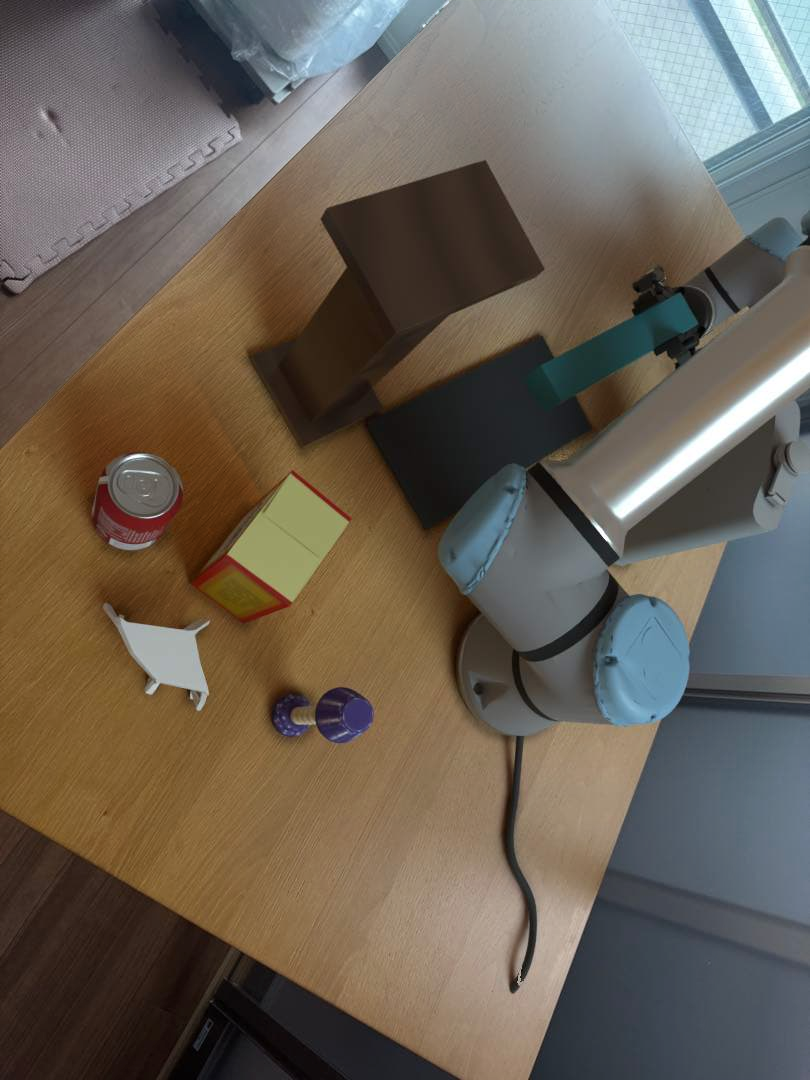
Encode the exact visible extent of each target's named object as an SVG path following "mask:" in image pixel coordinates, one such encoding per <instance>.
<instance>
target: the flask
mask: <svg viewBox="0 0 810 1080" xmlns="http://www.w3.org/2000/svg"><path fill="white" fill-rule="evenodd" d="M800 429H801V408H800V407H799V405H798V402H797V401H796V399H795V400H794V401H792V402H791V403H790V404H789V405H787V406H786V407H785V408H783V409H782V410H781V411H780V412H778V413H777V414H776V415H775V416H773V417H772V418H771V419H769V420H768V421H767V422H766V423H764V424H763V425H762V426H761V427H759V428H758V429H757V430H755V431H754V432H753V433H752V434H750V435H749V436H748V437H747V438H745V439H744V440H743V441H741V442H740V443H739V444H738V445H736V446H735V447H734V448H733V449H731V450H730V451H729V452H727V453H726V454H725V455H724V456H722V457H721V458H720V459H719V460H717V461H716V462H715V463H713V464H712V465H711V466H710V467H708V468H707V469H706V470H705V471H703V472H702V473H701V474H699V475H698V476H697V477H696V478H694V479H693V480H692V481H691V482H689V483H688V484H687V485H685V486H684V487H683V488H682V489H680V490H679V491H678V492H677V493H675V494H674V495H673V496H671V497H670V498H669V499H668V500H666V501H665V502H664V503H663V504H661V505H660V506H659V507H657V508H656V509H655V510H654V511H652V512H651V513H650V514H649V515H647V516H646V517H645V518H643V519H642V520H641V521H640V522H638V523H637V524H636V525H634V526H633V527H632V528H631V529H629V530H628V531H627V534H626V536H625V541H624V550H623V556H622V557H621V558H620V559H619V560H617V561H616V562H615V563H613V564H614V565H616V566H620V567H622V566H626V565H630V564H634V563H635V564H636V563H638V562H643V561H647V560H652V559H657V558H661V557H664V556H669V555H674V554H678V553H683V552H687V551H691V550H697V549H700V548H704V547H709V546H713V545H717V544H721V543H726V542H730V541H735V540H738V539H743V538H747V537H752V536H756V535H760V534H764V533H768V532H773V531H775V530H776V529H777V527H778V526H779V524H780V521H781V519H782V515H783V513H784V509H785V508H786V507H787V506H788V503H789V500H790V498H791V495H792V493H793V489H794V487H795V484H796V481H797V479H798V476H799V475H806V474H808V473H810V447H809V446H808V444H807V443H806V442H804V441H802V440H800Z"/></svg>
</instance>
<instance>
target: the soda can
mask: <svg viewBox="0 0 810 1080" xmlns="http://www.w3.org/2000/svg"><path fill="white" fill-rule="evenodd" d="M97 483H98V484H97V487H96V492H95V495H94V496H95V497H94V499H93V504H92V508H91V522H92V525H93V528H94V530H95V532H96V534H97V535H98V537H100V539H101V540H102V541H103V542H105V543H106V544H107V545H109V546H111V547H113V548H115V549H118V550H122V551H127V552H128V551H129V552H131V551H140V550H143V549H146V548H149V547H150V546H152V545H153V544H155V543H156V542H157V541H158V540H159V539H160V538H161V537H162V535H163V534H164V533H165V531H166V530H167V528H168V527H169V526H170V524H171V523H172V521H173V520H174V518H175V517H176V516H177V514H178V513H179V511H180V509H181V506H182V504H183V500H184V487H183V483H182V480H181V477H180V475H179V473H178V472H177V470H176V469H175V468H174V466H173V465H171V464H170V463H169V462H168V461H167V460H165V459H164V458H162V457H161V456H158V455H156V454H154V453H149V452H145V451H134V452H133V451H132V452H127V453H124V454H121V455H119V456H117V457H116V458H114V459H112V460H111V461H110V462H109V463H108V464H107V465H106V466H105V467H104V468H103V470H102V472H101V474H100V476H99V478H98V482H97Z"/></svg>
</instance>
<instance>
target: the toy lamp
mask: <svg viewBox="0 0 810 1080" xmlns="http://www.w3.org/2000/svg"><path fill="white" fill-rule="evenodd" d="M374 716H375V712H374V707H373V705H372V704H371V702H370V701H369V699H368V698H366V697H365V696H363V695H362V694H361V693H359V692H357V691H356V690H354V689H352V688H349V687H345V686H338V687H334V688H331V689H329V690H327V691H326V692H325V693H323V694H322V696H321V697H320V698H319V699H318V702H317V703H316V704H315V705H311V703H310V701H309V700H308V699H307V698H306V697H305V696H303V695H302V694H298V693H293V692H292V693H286V694H285V695H282V696H280V697H279V698H278V699H277V700H276V701H275V702H274V704H273V706H272V709H271V713H270V719H271V722H272V726H273V727H274V729H275V731H276V732H278V733H279V734H280V735H282V736H283V737H286V738H287V737H288V738H294V737H298V736H301V735H302V734H304V733H305V732H306V731H308V729H309V728H310V726H311V725H315V726H316V727H317V730H318V732H319V733H320V735H321V736H322V737H323V738H324V739H326V740H327V741H328V742H329V741H330V742H332V743H334V744H347V743H349V742H352V741H354V740H356V739H357V738H359V737H360V736H362V735H363V734H365V732H366V731H368V730H369V729H370V727H371V726H372V724H373V722H374Z"/></svg>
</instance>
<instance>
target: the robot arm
mask: <svg viewBox="0 0 810 1080" xmlns="http://www.w3.org/2000/svg"><path fill="white" fill-rule="evenodd" d="M800 226H801V233H802V235H803V236H807V237H806V239H804V241H803V239H802V237H801V236H800V235H799V233H798V232H797V231H796V229H795V228H794V227H793V226H792V224H791V223H790V221H789V220H787V218H785V217H782V216H781V217H780V216H779V217H777V216H776V217H774V218H772V219H771V220H769V221H767V222H766V223H764V224H763V225H762V226H760V227H759V228H757V229H756V230H754V231H753V232H752V233H750V234H747V235H746V236H744V238H743V239H742V240H741V241H740V242H738V243H737V244H736V245H735V246H733V247H732V248H730V249H729V250H728V251H726V253H724V254H723V255H722V256H721V257H719V258H718V259H716V260H715V261H714V262H712V263H711V264H710V265H709V266H707V267H706V268H705V269H703V270H701V271H700V272H699V273H697V274H696V275H695V276H693V277H692V278H691V279H689V280H688V281H687V282H686V283H684V284H683V285H680V286H673V287H672V286H671V285H669V284H664V282H665V281H667V277H666V276H665V272H664V271H665V269H664V268H663V267H662V266H661V265H660V264H659V265H657V266H655V267H653V268H652V269H650V270H649V271H647V272H646V273H644V274H642V275H641V276H640V278H639V279H636V280H635V281H633V282H632V283H631V285H632V286H631V287H632V289H633V291H634V292H636V293H637V294H638V293H640V294H638V295H637V298H636V299H634V300H633V301H632V305H633V307H634V308H631V312H632V314H633V317H634V316H636V315H638V314H640V313H642V312H644V311H646V310H648V309H650V308H652V307H653V306H655V305H657V304H659V303H661V302H663V301H665V300H666V299H668V298H670V297H672V296H674V295H676V294H678V293H681V294H682V296H683V298H684V299H685V301H686V303H687V305H688V306H689V308H690V310H691V312H692V313H693V315H694V317H695V318H696V320H697V322H698V324H697V325H696V326H694V327H692V328H691V329H689V330H688V331H686V332H684V333H682V334H681V335H679V336H677V337H675V338H674V339H672V340H670V341H668V342H666V343H665V344H663V345H661V346H659V347H658V348H656V349H654V350H653V351H652V352H653V353H654V355H655V357H658V356H660V355H662V354H663V353H666V355H667V357H668V358H669V359H670V360H674V359H675V360H676V362H675V363H674V369H675V370H674V371H672V372H671V373H670V374H668V375H667V376H666V377H664V378H663V379H662V380H661V381H660V382H659V383H657V384H656V385H655V386H654V387H653V388H652V389H650V390H649V391H647V392H646V393H645V394H644V395H643V396H642V397H641V398H639V399H638V400H636V402H634V403H633V404H632V405H630V407H628V408H627V409H626V410H624V412H623V413H621V414H620V415H619V416H617V417H616V418H615V419H614V420H613V421H611V422H610V423H609V424H608V425H606V426H605V427H604V428H603V429H602V430H600V431H599V432H598V433H596V434H595V436H593V437H592V438H591V439H590V440H588V441H587V442H586V443H584V444H583V445H581V447H579V449H577V450H576V451H575V452H574V453H572V454H571V455H570V456H569V457H568V458H567V459H562V460H561V459H560V460H556V459H541V460H540V461H538V462H537V463H535V464H533V465H532V466H530V467H529V468H528V469H525V468H524V467H523V466H519V465H517V464H514V463H513V464H509V465H507V466H505V467H503V468H502V469H501V470H500V471H499V472H498V473H497V474H496V475H493V476H492V477H491V478H489V479H488V480H487V481H486V482H485V483H484V484H483V485H482V486H481V487H480V488H479V489H478V490H477V491H476V492H475V493H474V494H473V495H472V496H471V498H470V499H469V500H468V501H467V502H466V503H465V504H464V506H463V507H462V508H461V509H460V510H458V511H457V513H456V514H455V516H453V518H452V520H451V521H450V522H449V524H448V526H447V527H446V528H445V531H444V532H443V534H442V536H441V538H440V541H439V543H438V549H437V556H438V562H439V563H440V565H441V567H442V568H443V569H444V571H445V572H446V574H448V575H449V577H450V578H451V579H452V581H453V582H454V584H455V585H456V586H457V587H458V591H459V592H460V594H461V595H463V596H466V597H467V598H468V599H469V600H470V601H471V603H472V604H473V605H474V606H475V608H476V609H478V611H480V612H479V613H478V614H476V615H475V616H474V618H472V620H471V621H470V622H469V623H468V625H467V626H466V628H465V629H464V631H463V632H462V635H461V637H460V640H459V642H458V646H457V649H456V650H457V651H456V658H455V675H456V683H457V687H458V690H459V694H460V696H461V698H462V700H463V702H464V704H465V706H466V707H467V709H468V711H469V713H470V714H471V715H472V716H473V717H474V718H475V720H477V721H478V722H479V723H480V724H481V725H482V726H483V727H485V728H487V729H489V730H490V731H491V732H494V733H496V734H499V735H503V736H508V737H509V736H510V737H515V748H514V761H513V762H514V763H513V773H512V784H511V794H510V802H509V808H508V813H507V814H508V815H507V821H506V830H505V844H506V846H505V847H506V854H507V859H508V863H509V866H510V869H511V871H512V874H513V875H514V877H515V879H516V881H517V883H518V884H519V886H520V888H521V890H522V891H523V894H524V897H525V899H526V902H527V907H528V920H529V921H528V923H529V925H528V940H527V946H526V951H525V954H524V958H523V961H522V964H521V966H522V969H521V968H520V969H521V976H520V978H521V981H520V982H522V981H523V982H525V980H526V978H527V976H528V973H529V971H530V969H531V966H532V963H533V959H534V955H535V951H536V945H537V936H538V935H537V934H538V911H537V904H536V900H535V896H534V893H533V891H532V888H531V886H530V885H529V883H528V880H527V879H526V877H525V875H524V874H523V872H522V869H521V867H520V865H519V863H518V861H517V860H518V859H517V857H516V851H515V826H516V825H515V824H516V816H517V812H518V804H519V796H520V785H521V777H522V776H521V775H522V766H523V765H522V764H523V753H524V739H525V737H528V736H532V735H536V734H537V735H538V734H540V733H542V732H544V731H546V730H548V729H550V728H552V727H553V726H554V725H557V724H559V723H561V722H562V723H563V722H564V723H575V724H576V723H577V724H591V725H593V724H595V725H610V726H616V727H624V728H626V727H632V726H634V725H635V726H636V725H649V724H653V723H656V722H659V721H661V720H662V719H664V718H666V716H668V715H669V714H670V713H672V711H674V709H675V708H676V707H677V705H678V704H679V702H680V701H681V699H682V697H683V695H684V693H685V691H686V687H687V685H688V681H689V676H690V668H691V666H690V665H691V664H690V660H689V659H690V653H691V651H690V650H691V649H690V644H689V639H688V636H687V632H686V629H685V627H684V625H683V623H682V621H681V618H680V617H679V615H678V614H677V612H676V611H675V610H674V609H673V607H671V606H670V605H669V604H668V603H667V602H665V601H664V600H663V599H660V598H659V597H656V596H650V595H647V594H643V593H635V594H632V595H630V594H629V593H628V592H627V591H626V590H625V589H624V588H623V586H622V585H621V584H620V583H619V582H618V581H617V579H616V578H615V577H614V575H612V573H611V572H610V571H609V570H608V568H610V567H612V565H613V564H614V563H615V562H616V561H617V560H619V559H620V558H621V557H622V556H623V550H624V541H625V536H626V534H627V531H628V530H629V529H631V528H632V527H633V526H634V525H636V524H637V523H638V522H640V521H641V520H642V519H643V518H645V517H646V516H647V515H649V514H650V513H651V512H652V511H654V510H655V509H656V508H657V507H659V506H660V505H661V504H663V503H664V502H665V501H666V500H668V499H669V498H670V497H671V496H673V495H674V494H675V493H677V492H678V491H679V490H680V489H682V488H683V487H684V486H685V485H687V484H688V483H689V482H691V481H692V480H693V479H694V478H696V477H697V476H698V475H699V474H701V473H702V472H703V471H705V470H706V469H707V468H708V467H710V466H711V465H712V464H713V463H715V462H716V461H717V460H719V459H720V458H721V457H722V456H724V455H725V454H726V453H727V452H729V451H730V450H731V449H733V448H734V447H735V446H736V445H738V444H739V443H740V442H741V441H743V440H744V439H745V438H747V437H748V436H749V435H750V434H752V433H753V432H754V431H755V430H757V429H758V428H759V427H761V426H762V425H763V424H764V423H766V422H767V421H768V420H769V419H771V418H772V417H773V416H775V415H776V414H777V413H778V412H780V411H781V410H782V409H783V408H785V407H786V406H787V405H789V404H790V403H791V402H792V401H794V400H795V401H796V399H797V398H799V397H800V396H801V395H803V394H804V393H805V392H807V391H808V390H809V389H810V209H809V210H808V212H806V213H805V214H804V215H803V216H802V218H801V219H800ZM745 308H748V309H747V310H746V311H745V312H744V313H743V314H741V315H740V316H739V317H738V318H737V319H735V320H734V321H733V322H731V324H729V325H728V326H726V327H725V329H723V330H722V331H721V332H720V333H719V334H717V335H716V336H714V337H713V338H712V339H711V340H710V341H709V342H707V343H706V344H705V345H704V346H702V347H700V348H698V347H699V345H700V340H701V339H703V338H704V337H706V336H707V335H708V334H710V333H711V332H713V331H714V330H715V329H716V328H718V327H719V326H720V325H721V324H723V323H724V322H726V321H727V320H728V319H731V318H732V317H733V316H734V315H736V314H738V313H739V312H740V311H741V310H743V309H745ZM518 975H519V972H518V973H517V975H516V976H515V979H514V980H513V981H512V982H511V983H510V987H509V992H510V994H515V993H517V991H518V990H519V989H520V987H521V986H522V985H523V983H522V984H521V986H519V985H518V983H517V981H518ZM524 979H525V980H524Z"/></svg>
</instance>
